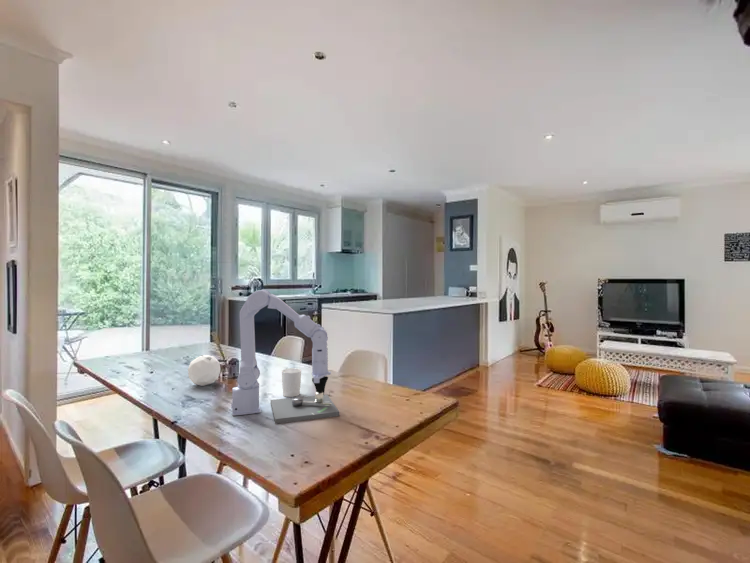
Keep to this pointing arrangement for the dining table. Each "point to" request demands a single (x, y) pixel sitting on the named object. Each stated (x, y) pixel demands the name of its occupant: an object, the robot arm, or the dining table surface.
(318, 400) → the peg lever
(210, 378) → the geodesic sphere
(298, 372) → the white cup
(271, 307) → the robot arm
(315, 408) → the dial board
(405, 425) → the dining table surface
